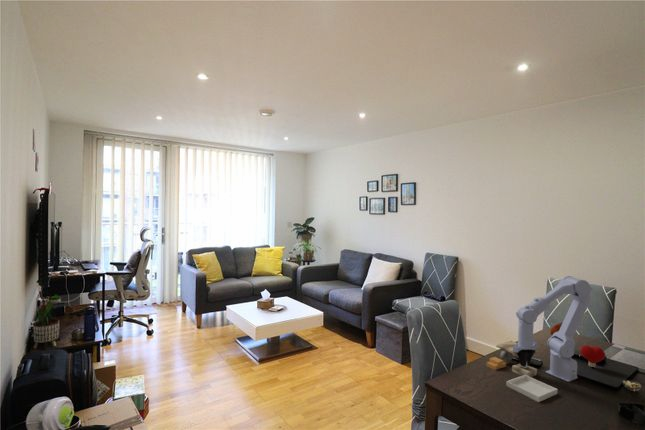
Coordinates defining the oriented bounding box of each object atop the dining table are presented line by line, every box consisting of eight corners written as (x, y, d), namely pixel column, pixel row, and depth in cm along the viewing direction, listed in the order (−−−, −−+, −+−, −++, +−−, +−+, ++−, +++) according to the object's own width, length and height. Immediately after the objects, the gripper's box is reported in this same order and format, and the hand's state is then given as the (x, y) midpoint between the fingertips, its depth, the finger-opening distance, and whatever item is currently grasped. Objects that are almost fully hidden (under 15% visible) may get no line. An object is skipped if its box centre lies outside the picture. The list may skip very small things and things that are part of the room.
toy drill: (572, 344, 184) (572, 317, 182) (558, 357, 173) (558, 328, 171) (562, 341, 187) (561, 315, 186) (547, 353, 177) (547, 326, 175)
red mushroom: (582, 368, 158) (583, 347, 158) (577, 362, 165) (578, 342, 165) (607, 372, 155) (608, 351, 155) (601, 366, 161) (602, 345, 161)
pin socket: (536, 374, 151) (537, 369, 151) (527, 378, 148) (527, 372, 148) (521, 368, 157) (521, 362, 157) (512, 371, 154) (512, 365, 154)
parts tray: (557, 393, 136) (557, 389, 136) (538, 402, 129) (538, 396, 129) (524, 379, 147) (524, 374, 147) (506, 386, 141) (506, 381, 141)
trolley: (528, 362, 164) (529, 347, 164) (511, 368, 157) (511, 352, 157) (510, 355, 172) (511, 341, 171) (493, 360, 165) (493, 345, 165)
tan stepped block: (495, 370, 155) (495, 363, 155) (486, 366, 159) (486, 359, 159) (506, 367, 159) (506, 359, 159) (497, 363, 163) (497, 356, 163)
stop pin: (527, 373, 152) (528, 360, 152) (525, 374, 151) (525, 360, 151) (523, 371, 154) (524, 358, 154) (520, 372, 153) (521, 359, 153)
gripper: (524, 340, 146) (523, 372, 146) (544, 335, 152) (543, 365, 152) (508, 335, 152) (507, 365, 152) (528, 330, 158) (527, 359, 159)
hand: (524, 365), depth 153 cm, fingers closed on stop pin, 2 cm apart
